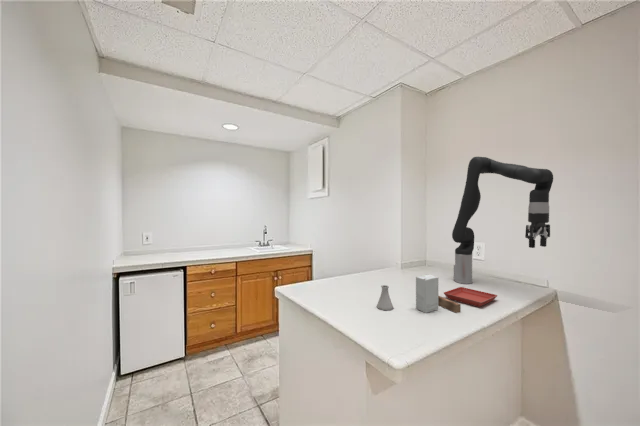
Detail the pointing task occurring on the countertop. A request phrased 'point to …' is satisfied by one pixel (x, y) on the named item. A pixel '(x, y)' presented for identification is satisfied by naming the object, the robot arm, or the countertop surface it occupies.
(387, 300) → the flask
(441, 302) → the bar
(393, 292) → the countertop surface
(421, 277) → the skincare box
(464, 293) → the plant saucer
